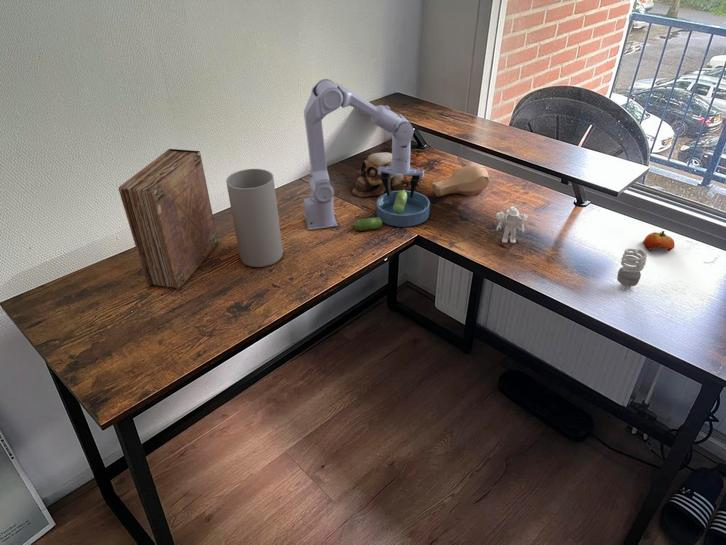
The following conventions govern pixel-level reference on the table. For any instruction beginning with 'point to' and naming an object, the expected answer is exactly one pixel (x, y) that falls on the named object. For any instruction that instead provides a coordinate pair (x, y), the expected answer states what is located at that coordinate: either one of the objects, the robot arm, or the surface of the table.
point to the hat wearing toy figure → (511, 222)
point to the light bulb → (631, 268)
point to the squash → (463, 181)
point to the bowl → (412, 213)
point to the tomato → (658, 241)
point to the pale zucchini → (400, 201)
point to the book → (170, 217)
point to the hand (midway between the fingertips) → (400, 195)
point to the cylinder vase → (255, 216)
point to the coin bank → (374, 176)
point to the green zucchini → (367, 224)
